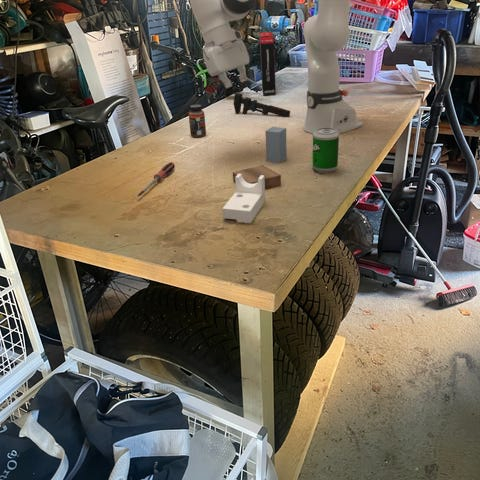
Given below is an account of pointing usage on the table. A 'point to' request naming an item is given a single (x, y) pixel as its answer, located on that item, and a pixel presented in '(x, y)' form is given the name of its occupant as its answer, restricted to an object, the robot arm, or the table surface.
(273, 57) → the graphics card box
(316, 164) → the soda can
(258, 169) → the walnut block
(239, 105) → the adjustable wrench
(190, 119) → the supplement bottle
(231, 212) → the bracket
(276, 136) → the gray block
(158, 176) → the screwdriver
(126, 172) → the table surface
